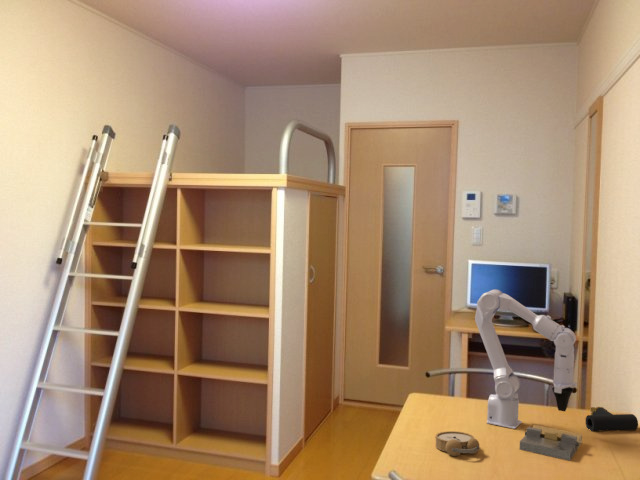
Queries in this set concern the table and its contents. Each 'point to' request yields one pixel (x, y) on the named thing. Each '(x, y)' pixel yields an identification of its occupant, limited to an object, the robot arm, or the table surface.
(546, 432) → the tan flat block
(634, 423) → the pipe connector
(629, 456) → the table surface
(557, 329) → the robot arm
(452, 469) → the table surface
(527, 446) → the fixed leaf
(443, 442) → the alarm clock
